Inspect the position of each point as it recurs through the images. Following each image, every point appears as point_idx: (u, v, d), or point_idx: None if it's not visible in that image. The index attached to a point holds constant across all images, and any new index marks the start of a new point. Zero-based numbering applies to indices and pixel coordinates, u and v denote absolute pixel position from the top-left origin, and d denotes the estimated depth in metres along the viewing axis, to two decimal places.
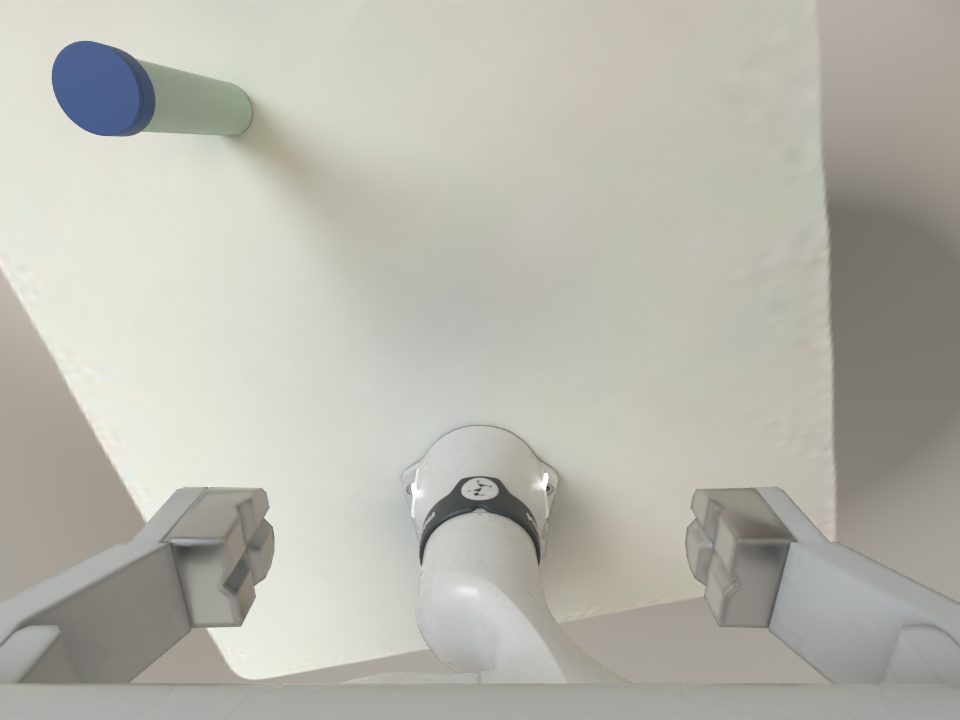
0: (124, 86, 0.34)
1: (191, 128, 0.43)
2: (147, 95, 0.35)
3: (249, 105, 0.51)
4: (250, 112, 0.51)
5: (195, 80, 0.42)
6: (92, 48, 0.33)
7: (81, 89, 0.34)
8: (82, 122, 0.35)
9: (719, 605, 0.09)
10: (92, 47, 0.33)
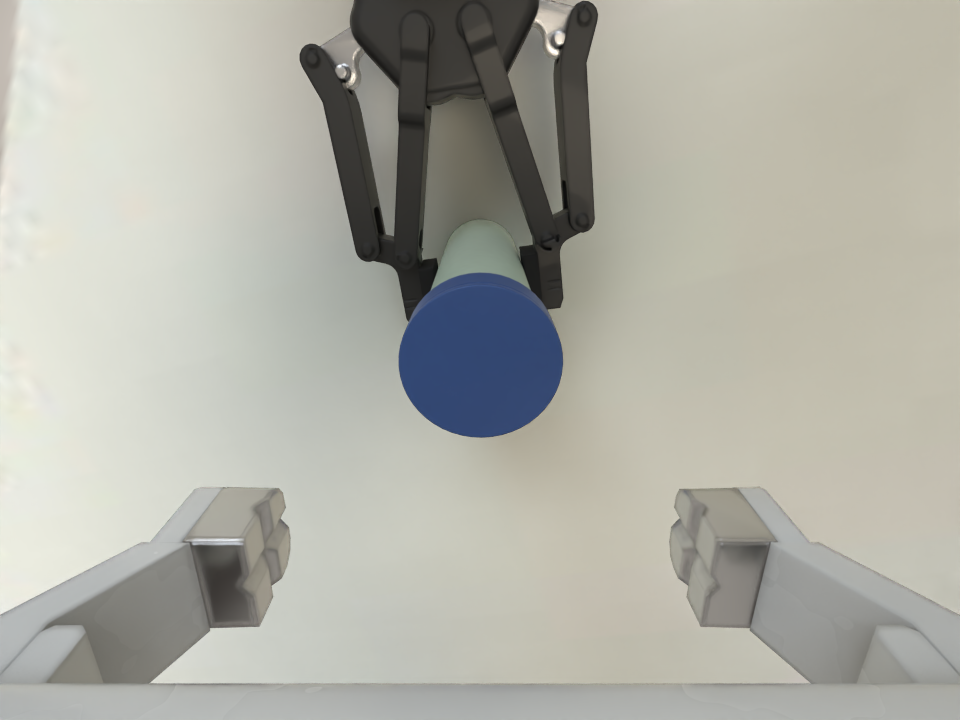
0: (528, 392, 0.18)
1: None
2: None
3: None
4: None
5: None
6: (533, 318, 0.17)
7: (458, 350, 0.17)
8: (414, 385, 0.18)
9: (701, 604, 0.09)
10: (534, 317, 0.17)
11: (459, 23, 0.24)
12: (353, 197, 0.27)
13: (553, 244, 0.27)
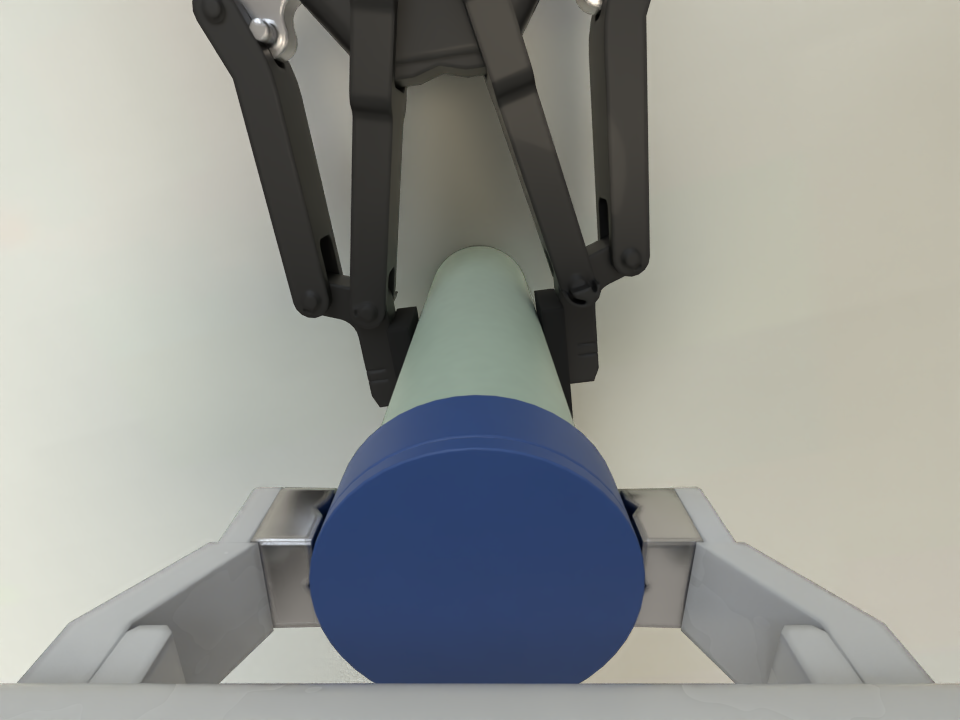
0: (572, 640, 0.09)
1: None
2: None
3: None
4: None
5: None
6: (588, 512, 0.08)
7: (431, 567, 0.08)
8: (342, 627, 0.09)
9: None
10: (590, 508, 0.08)
11: None
12: (286, 224, 0.18)
13: (588, 295, 0.18)
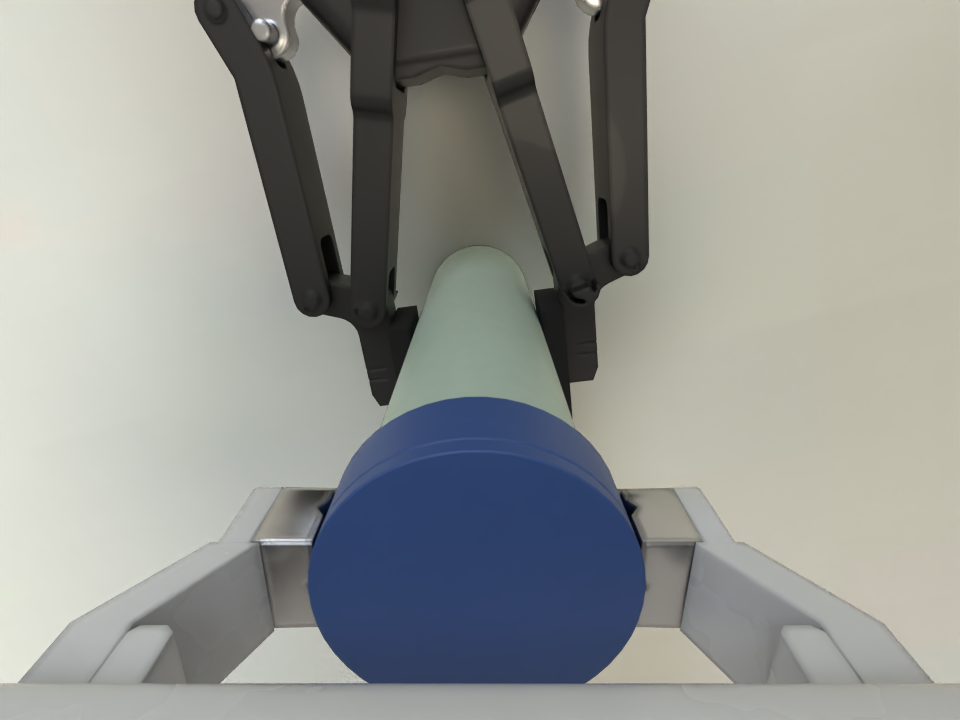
0: (535, 512, 0.08)
1: None
2: (581, 453, 0.09)
3: None
4: None
5: None
6: (362, 516, 0.08)
7: (446, 633, 0.09)
8: None
9: None
10: (359, 513, 0.08)
11: None
12: (287, 223, 0.18)
13: (587, 295, 0.18)
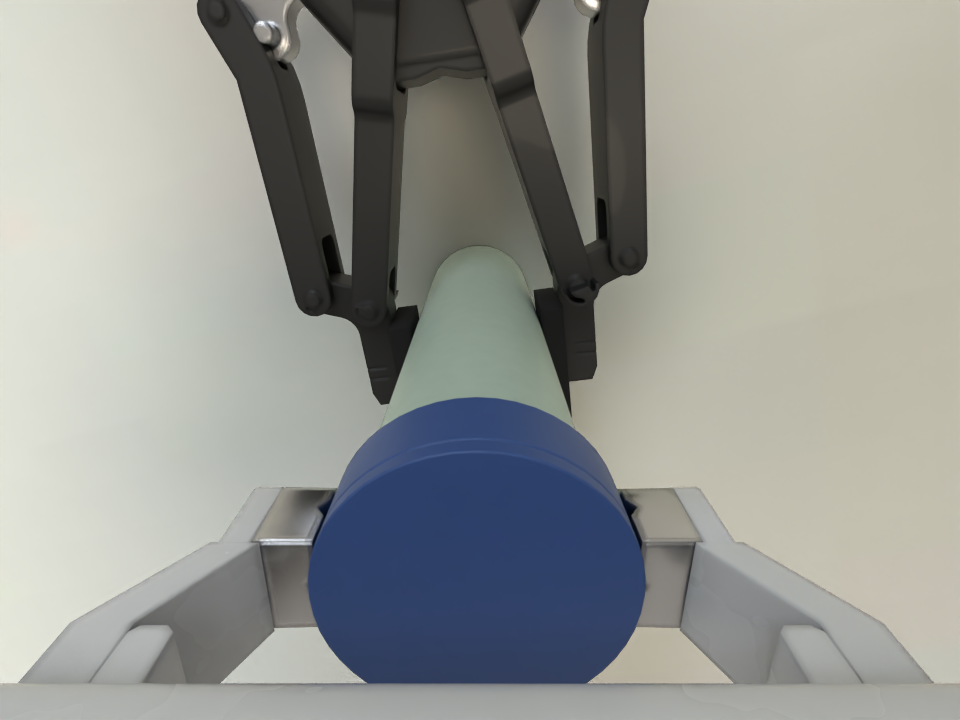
0: (367, 560, 0.08)
1: None
2: (344, 482, 0.09)
3: None
4: None
5: None
6: (391, 679, 0.09)
7: (524, 620, 0.09)
8: (614, 549, 0.08)
9: None
10: (390, 680, 0.09)
11: None
12: (289, 223, 0.18)
13: (587, 294, 0.18)
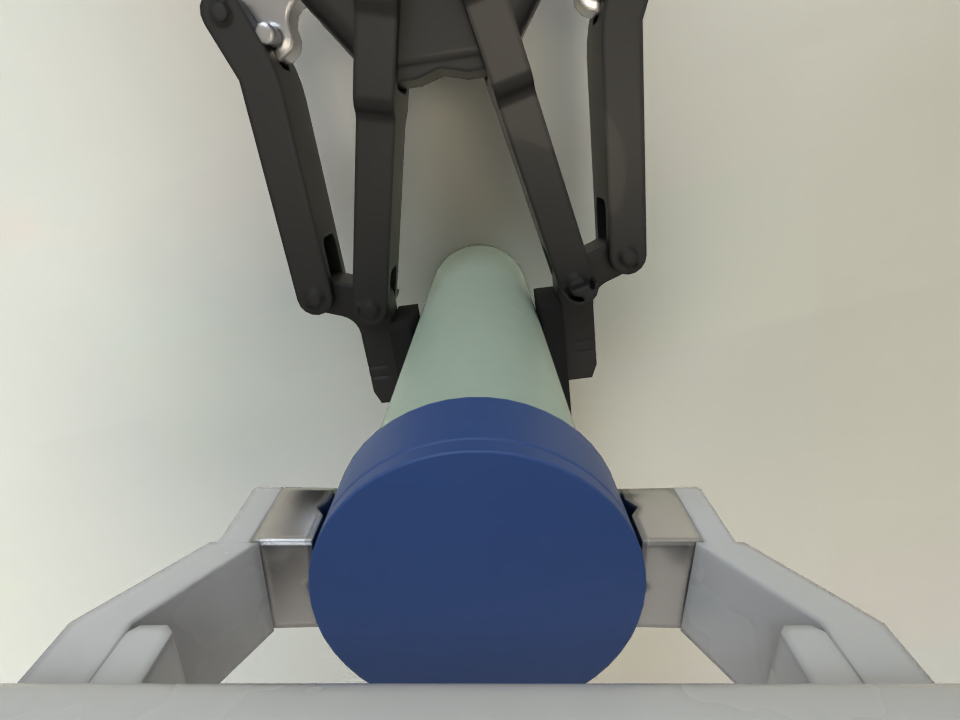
0: (438, 676, 0.09)
1: None
2: None
3: None
4: None
5: None
6: (588, 660, 0.09)
7: (504, 558, 0.08)
8: (402, 488, 0.08)
9: None
10: (591, 660, 0.09)
11: None
12: (291, 223, 0.18)
13: (586, 293, 0.18)
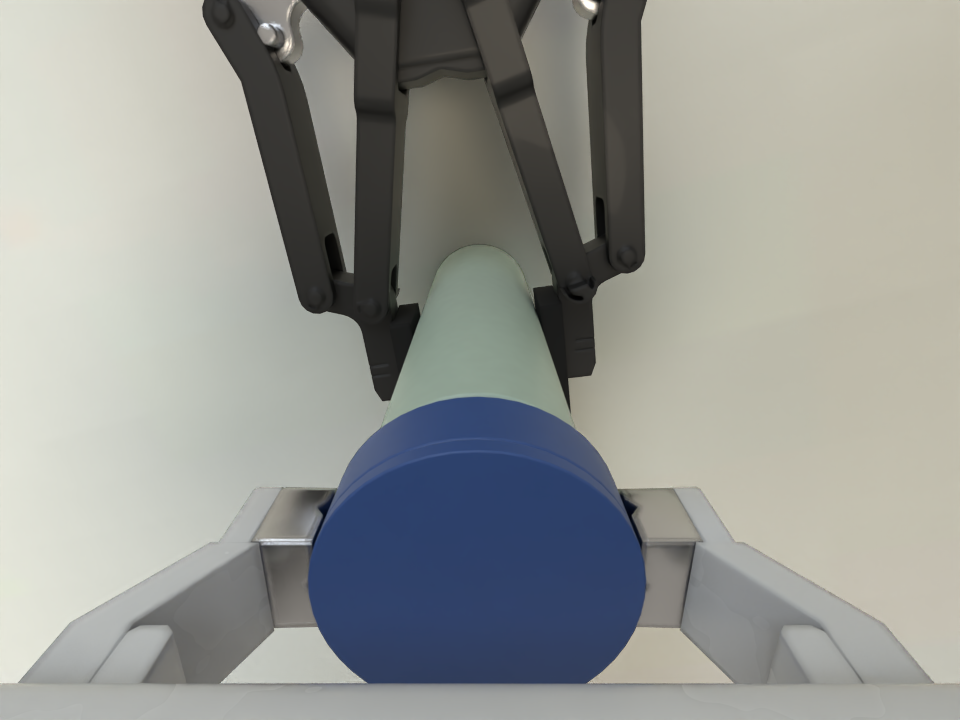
0: (585, 625, 0.09)
1: None
2: None
3: None
4: None
5: None
6: (561, 495, 0.08)
7: (424, 580, 0.08)
8: (358, 654, 0.09)
9: None
10: (562, 491, 0.08)
11: None
12: (292, 222, 0.18)
13: (585, 291, 0.18)
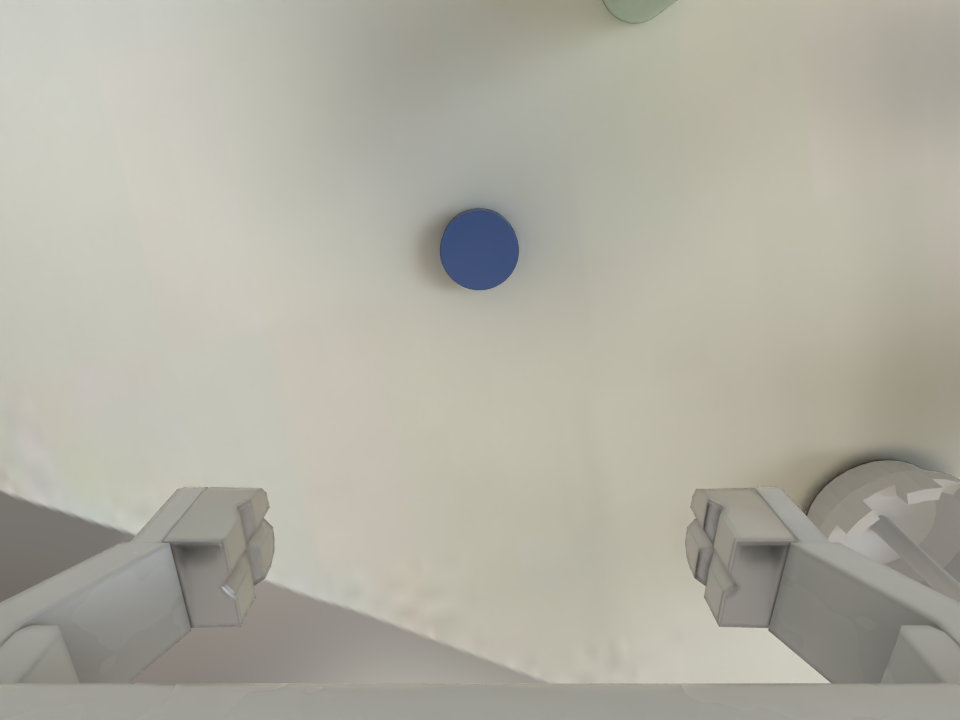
0: (486, 224, 0.36)
1: None
2: (495, 213, 0.37)
3: (615, 14, 0.33)
4: (609, 7, 0.33)
5: None
6: (449, 235, 0.36)
7: (474, 264, 0.37)
8: (498, 279, 0.37)
9: (719, 604, 0.09)
10: (448, 234, 0.36)
11: None
12: None
13: None
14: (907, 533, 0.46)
